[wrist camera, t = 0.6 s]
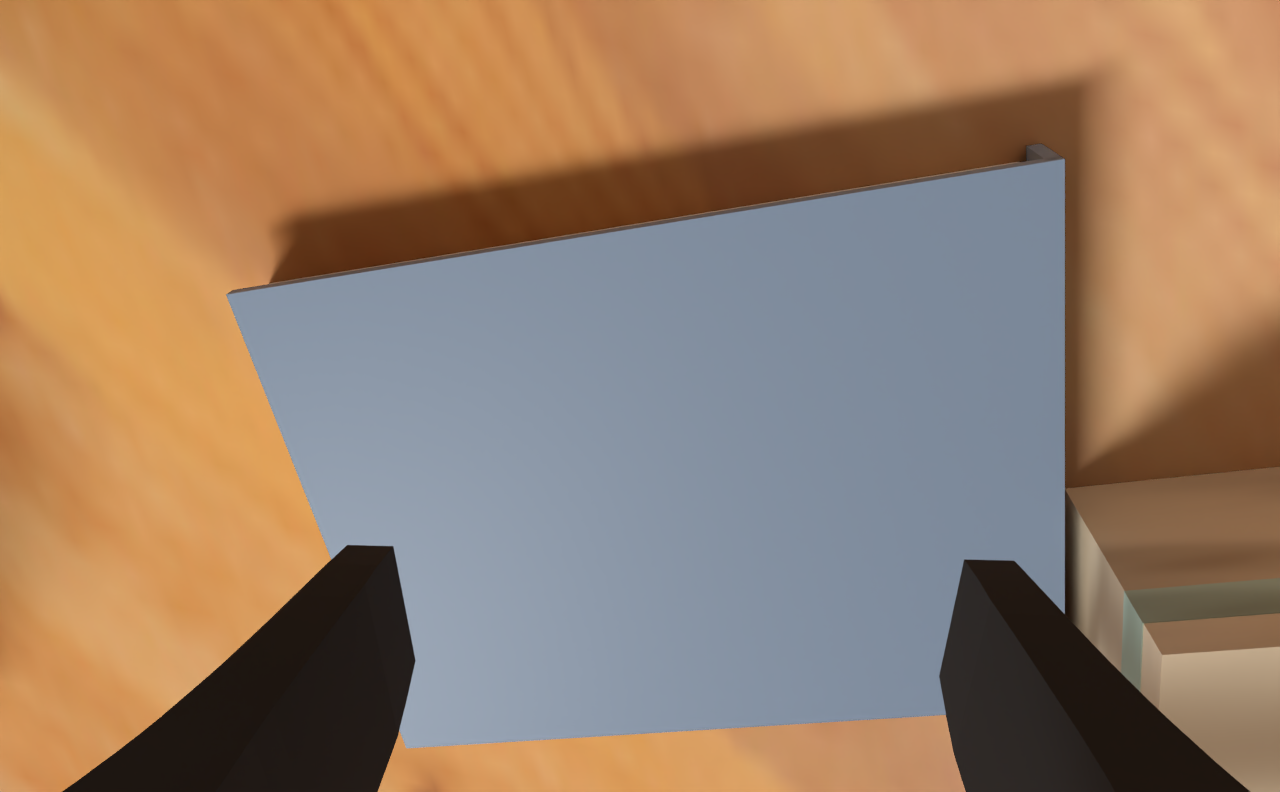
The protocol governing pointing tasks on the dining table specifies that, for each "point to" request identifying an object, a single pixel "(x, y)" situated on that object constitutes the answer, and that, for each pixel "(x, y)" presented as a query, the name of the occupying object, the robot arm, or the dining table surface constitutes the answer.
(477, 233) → the dining table surface
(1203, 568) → the tea box
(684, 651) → the book
